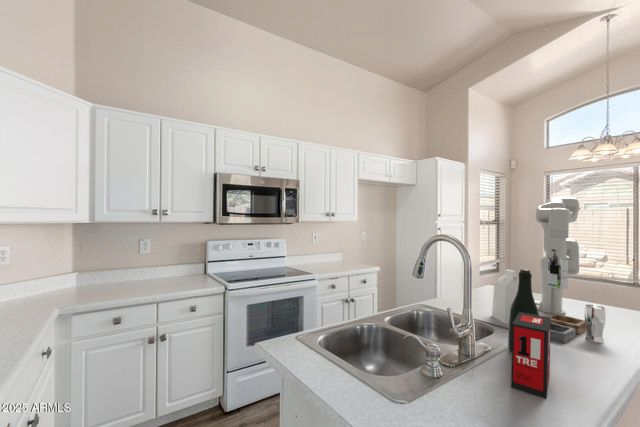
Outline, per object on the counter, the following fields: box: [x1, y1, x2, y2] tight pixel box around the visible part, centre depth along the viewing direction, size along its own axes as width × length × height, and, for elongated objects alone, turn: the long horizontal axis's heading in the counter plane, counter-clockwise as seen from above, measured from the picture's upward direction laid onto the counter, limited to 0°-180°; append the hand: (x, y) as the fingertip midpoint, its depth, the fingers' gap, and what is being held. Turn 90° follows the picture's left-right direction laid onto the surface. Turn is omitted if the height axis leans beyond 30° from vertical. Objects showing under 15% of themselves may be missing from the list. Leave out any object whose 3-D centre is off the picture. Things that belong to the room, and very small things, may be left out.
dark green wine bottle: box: [507, 268, 540, 353], centre depth 121 cm, size 10×10×33 cm
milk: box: [491, 269, 519, 325], centre depth 161 cm, size 12×12×26 cm
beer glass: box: [584, 303, 607, 344], centre depth 136 cm, size 7×7×15 cm
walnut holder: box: [547, 314, 587, 337], centre depth 150 cm, size 13×13×4 cm
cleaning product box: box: [510, 312, 551, 400], centre depth 99 cm, size 16×9×20 cm, turn 141°
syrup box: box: [547, 256, 569, 290], centre depth 142 cm, size 6×6×14 cm
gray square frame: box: [550, 323, 576, 345], centre depth 140 cm, size 13×13×4 cm
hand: (557, 272), depth 142 cm, fingers closed on syrup box, 7 cm apart
